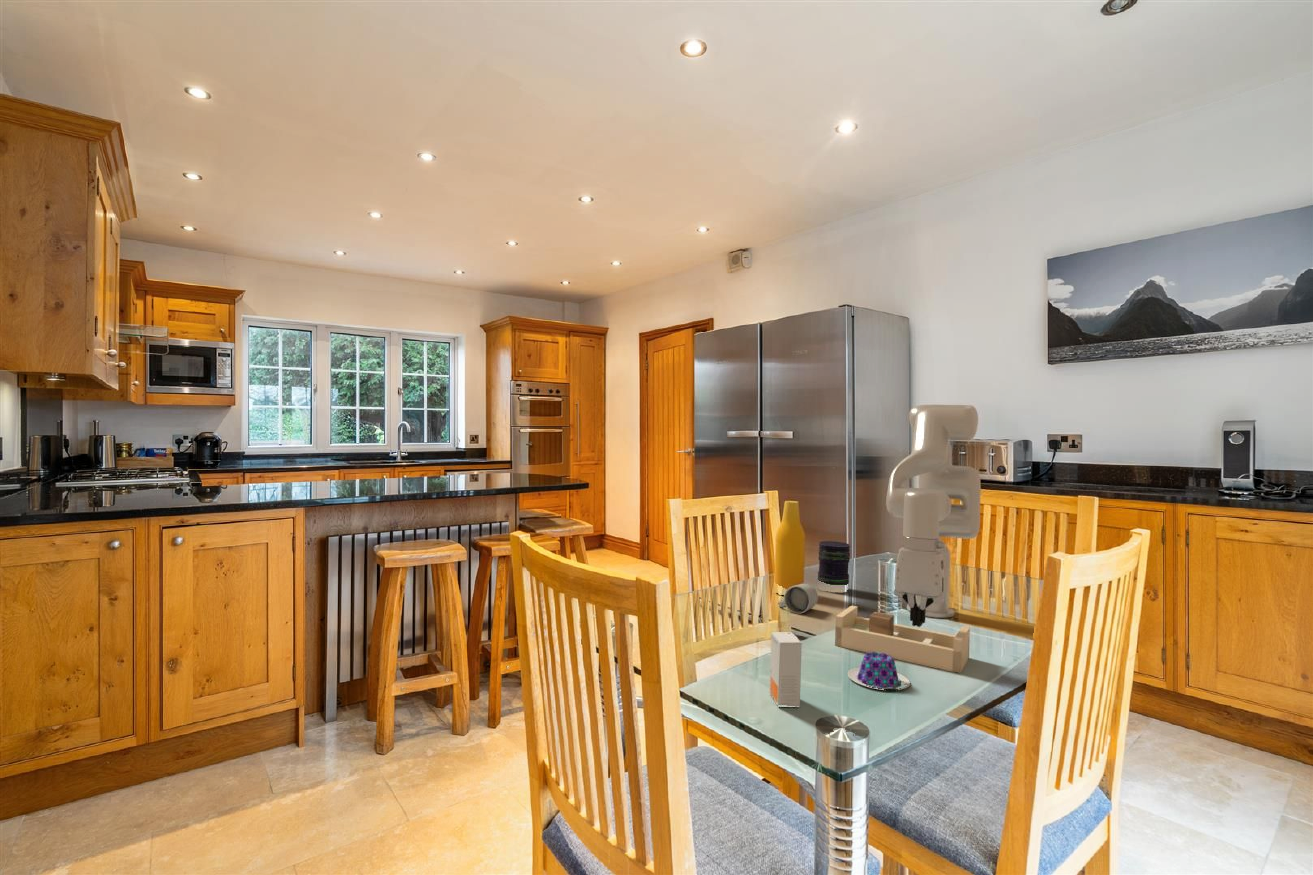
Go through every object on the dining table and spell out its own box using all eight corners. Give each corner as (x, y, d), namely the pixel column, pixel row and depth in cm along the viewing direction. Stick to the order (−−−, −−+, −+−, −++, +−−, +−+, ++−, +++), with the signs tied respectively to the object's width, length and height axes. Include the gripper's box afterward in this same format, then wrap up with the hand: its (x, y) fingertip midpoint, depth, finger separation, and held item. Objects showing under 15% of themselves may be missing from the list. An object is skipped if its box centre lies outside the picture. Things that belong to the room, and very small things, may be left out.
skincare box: (768, 694, 117) (770, 631, 117) (790, 694, 118) (792, 631, 118) (777, 708, 111) (779, 642, 111) (800, 708, 112) (802, 642, 112)
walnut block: (874, 630, 150) (874, 611, 150) (893, 634, 147) (894, 615, 147) (868, 634, 146) (869, 615, 146) (888, 638, 143) (889, 619, 143)
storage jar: (818, 592, 198) (820, 545, 198) (815, 584, 207) (817, 540, 207) (850, 594, 196) (852, 547, 196) (846, 587, 206) (848, 542, 206)
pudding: (905, 699, 118) (905, 671, 118) (841, 684, 124) (842, 658, 124) (913, 678, 128) (914, 653, 128) (854, 666, 134) (855, 642, 134)
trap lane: (850, 632, 157) (851, 605, 156) (968, 657, 141) (970, 627, 141) (834, 645, 147) (835, 615, 147) (960, 673, 131) (961, 640, 131)
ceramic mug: (819, 609, 177) (819, 582, 177) (809, 616, 170) (809, 588, 170) (784, 603, 183) (784, 577, 183) (773, 609, 176) (773, 582, 176)
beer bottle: (802, 598, 189) (805, 503, 189) (771, 595, 192) (774, 501, 192) (805, 591, 198) (808, 501, 197) (775, 588, 201) (778, 499, 200)
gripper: (958, 547, 140) (956, 628, 140) (890, 539, 149) (887, 615, 149) (953, 550, 134) (950, 635, 134) (882, 542, 143) (879, 622, 143)
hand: (917, 624), depth 141 cm, fingers closed
